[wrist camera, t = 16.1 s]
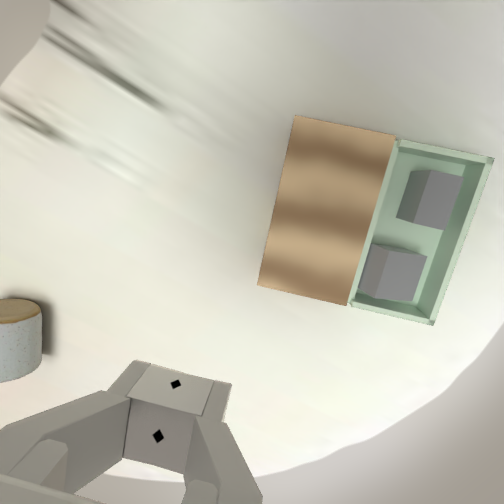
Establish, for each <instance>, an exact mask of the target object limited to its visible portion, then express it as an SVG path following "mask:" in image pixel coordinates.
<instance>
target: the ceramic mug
mask: <svg viewBox="0 0 504 504" xmlns="http://www.w3.org/2000/svg"><path fill="white" fill-rule="evenodd" d="M41 360H42V314H41V310H40V307H39V306H38V305H37V304H36V303H34V302H32V301H29V300H24V299H0V383H2V382H7V381H11V380H15V379H19V378H21V377H23V376H25V375H27V374H29V373H31V372H33V371H34V370H35V369H36V368H38V366H39V365H40V363H41Z"/></svg>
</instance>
